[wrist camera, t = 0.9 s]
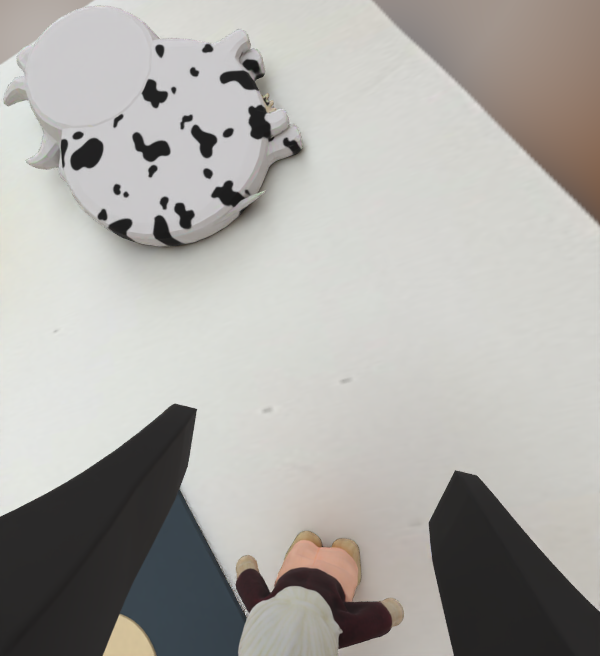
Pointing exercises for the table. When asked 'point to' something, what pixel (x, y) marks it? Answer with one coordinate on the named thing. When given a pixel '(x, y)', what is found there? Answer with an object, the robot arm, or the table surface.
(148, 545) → the robot arm
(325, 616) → the grandmother figurine
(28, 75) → the toy
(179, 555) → the display mat
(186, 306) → the table surface
